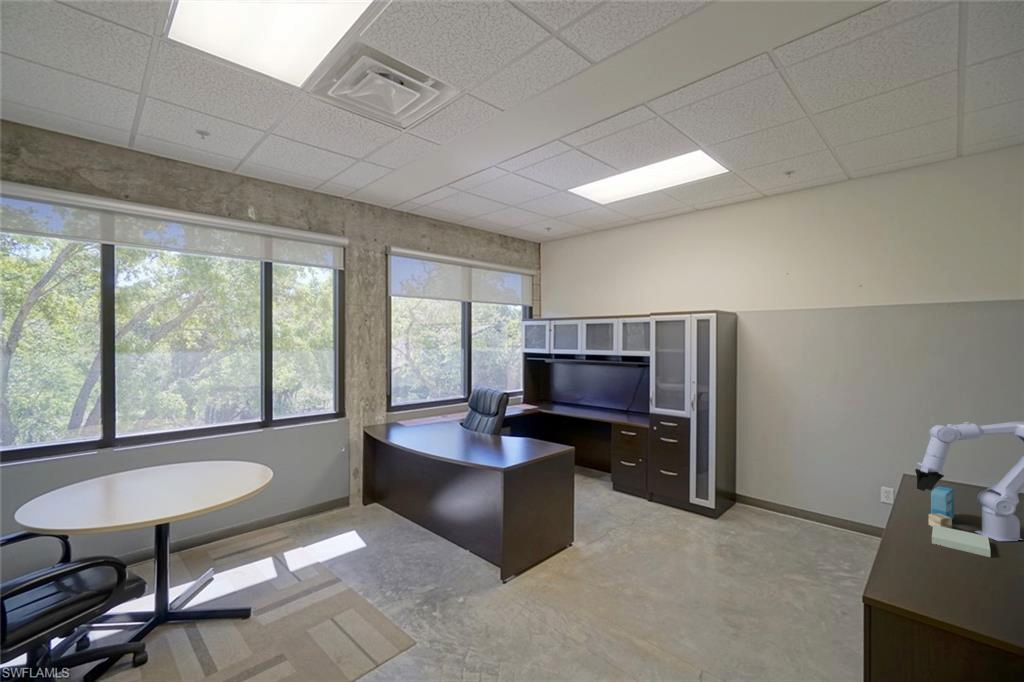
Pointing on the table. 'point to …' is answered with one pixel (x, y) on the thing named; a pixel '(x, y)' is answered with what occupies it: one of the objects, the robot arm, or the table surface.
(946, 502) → the data package
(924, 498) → the table surface
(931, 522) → the maple block
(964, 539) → the base board
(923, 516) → the table surface
